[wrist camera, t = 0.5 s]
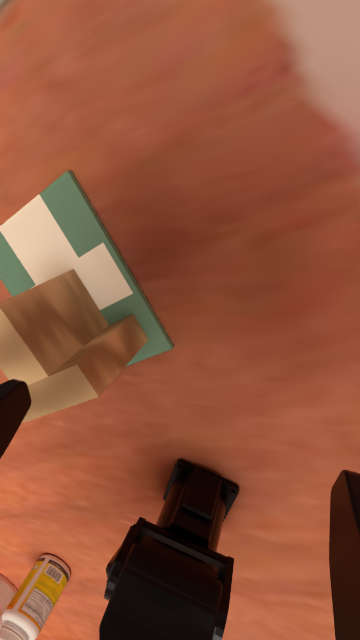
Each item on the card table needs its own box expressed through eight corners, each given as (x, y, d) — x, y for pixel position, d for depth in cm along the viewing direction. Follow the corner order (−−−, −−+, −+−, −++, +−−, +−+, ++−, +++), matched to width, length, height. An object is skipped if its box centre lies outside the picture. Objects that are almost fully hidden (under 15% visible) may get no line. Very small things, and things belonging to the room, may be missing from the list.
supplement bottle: (45, 570, 53) (-6, 650, 45) (37, 548, 51) (-18, 628, 42) (75, 581, 52) (28, 667, 43) (68, 559, 49) (17, 645, 41)
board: (174, 346, 28) (172, 348, 28) (76, 383, 34) (74, 386, 33) (71, 170, 25) (67, 170, 24) (-19, 244, 30) (-23, 245, 30)
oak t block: (148, 339, 28) (98, 397, 21) (75, 369, 32) (14, 425, 25) (97, 253, 26) (24, 286, 19) (27, 297, 30) (-54, 336, 24)
